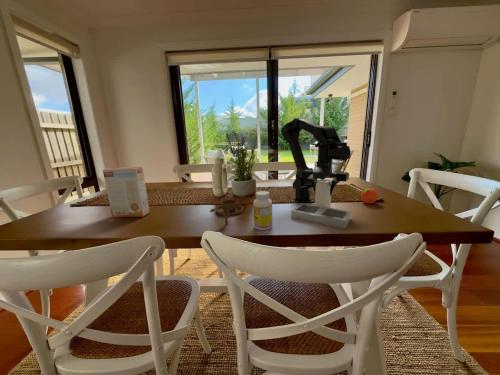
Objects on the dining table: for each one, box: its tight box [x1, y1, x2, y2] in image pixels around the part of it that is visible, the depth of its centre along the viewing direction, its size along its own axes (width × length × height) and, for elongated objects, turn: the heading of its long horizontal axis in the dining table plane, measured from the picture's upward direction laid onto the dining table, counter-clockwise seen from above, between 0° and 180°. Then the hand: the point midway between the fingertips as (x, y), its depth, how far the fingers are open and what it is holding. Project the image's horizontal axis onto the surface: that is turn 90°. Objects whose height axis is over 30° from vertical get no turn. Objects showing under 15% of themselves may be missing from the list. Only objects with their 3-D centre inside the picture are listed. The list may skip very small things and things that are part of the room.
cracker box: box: [102, 166, 150, 218], centre depth 93 cm, size 14×6×21 cm, turn 86°
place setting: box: [210, 198, 244, 226], centre depth 92 cm, size 18×20×6 cm
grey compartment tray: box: [290, 202, 353, 230], centre depth 84 cm, size 20×10×3 cm, turn 55°
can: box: [314, 179, 332, 208], centre depth 94 cm, size 6×6×12 cm
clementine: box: [360, 187, 379, 205], centre depth 98 cm, size 8×7×7 cm
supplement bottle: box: [252, 190, 273, 231], centre depth 77 cm, size 7×7×13 cm
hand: (323, 194), depth 94 cm, fingers closed on can, 6 cm apart
